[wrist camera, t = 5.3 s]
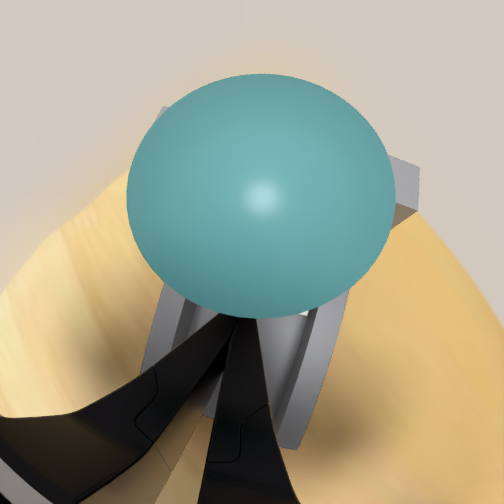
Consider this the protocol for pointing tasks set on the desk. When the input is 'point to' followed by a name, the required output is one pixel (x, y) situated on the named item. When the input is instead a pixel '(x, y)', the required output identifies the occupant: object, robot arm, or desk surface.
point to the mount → (279, 335)
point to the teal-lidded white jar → (261, 196)
